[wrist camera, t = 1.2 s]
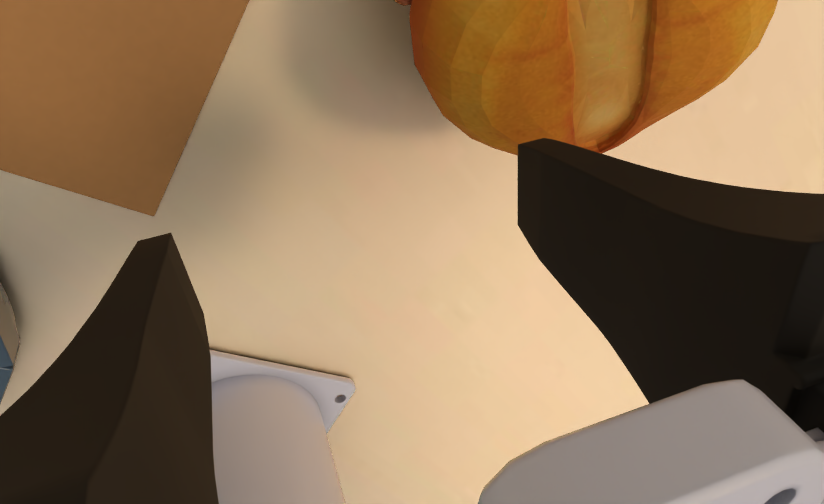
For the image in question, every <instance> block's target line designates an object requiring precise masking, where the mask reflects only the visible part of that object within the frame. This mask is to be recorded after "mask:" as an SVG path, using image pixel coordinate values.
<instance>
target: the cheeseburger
mask: <svg viewBox="0 0 824 504" xmlns="http://www.w3.org/2000/svg"><path fill="white" fill-rule="evenodd" d="M394 1H395V2H397V3H399V4H401V5H403V6H405V5H410V4H411V8H410V28H411V37H412V45H413V54H414V63H415V66H416V68H417V70H418V71H419V73H420V75H421V77H422V79H423V81H424V83H425V85H426V86H427V88H428V90H429V92H430V94H431V96H432V98H433V99H434V101H435V103H436V104H437V106H438V108H439V109H440V111H441V113H442V114H443V116H444V117H446V118H447V119H448V120H449V121H451V122H452V123H453V124H454V125H455V126H457V127H458V128H459V129H460V130H462V131H463V132H464V133H465V134H466V135H468V136H469V137H470V138H472V139H474V140H476V141H479V142H481V143H483V144H486V145H488V146H490V147H493V148H495V149H498V150H502V151H505V152H508V153H512V154H515V155H518V144H521V143H525V142H529V141H533V140H537V139H541V138H548V139H553V140H557V141H561V142H565V143H568V144H572V145H575V146H578V147H582V148H585V149H588V150H591V151H594V152H598V153H601V154H602V153H604V152H606V151H608V150H611V149H613V148H615V147H617V146H619V145H621V144H622V143H624V142H625V141H627V140H629V139H630V138H632V137H633V136H635V135H636V134H638V133H639V132H640V131H642V130H643V129H645V128H647V127H648V126H650V125H652V124H654V123H655V122H657V121H659V120H661V119H662V118H664V117H666V116H668V115H669V114H671V113H673V112H675V111H677V110H678V109H680V108H682V107H684V106H686V105H688V104H689V103H691V102H693V101H695V100H697V99H699V98H700V97H701V96H703V95H704V94H706V93H707V92H709V91H710V90H712V89H713V88H715V87H716V86H717V85H719V84H720V83H722V82H723V81H725V80H726V79H727V78H728V77H729V76H730V75H731V74H732V73H733V72H734V71H735V70H736V69H737V68H738V67H739V66H740V65H741V64H742V63H743V62H744V60H745V59H746V58H747V57H748V56H749V55H750V54H751V53H752V52H753V51H754V50H755V49H756V48H757V47H758V45H759V43H760V41H761V39H762V37H763V35H764V33H765V31H766V29H767V26H768V24H769V22H770V20H771V18H772V16H773V14H774V11H775V8H776V5H777V1H778V0H394Z"/></svg>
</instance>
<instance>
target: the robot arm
mask: <svg viewBox="0 0 824 504" xmlns="http://www.w3.org/2000/svg"><path fill="white" fill-rule="evenodd" d="M518 226H519V227H520V229H521V231H522V233H523V234H524V236H525V238H526V239H527V241H528V243H529V244H530V246H531V247H532V249H533V250H534V252H535V254H536V255H537V257H538V258H539V260H540V261H541V262H542V263H543V264H544V266H545V267H546V268H547V269H548V270H549V272H550V273H551V274H552V275H553V276H554V277H555V279H556V280H557V281H558V282H559V283H560V285H561V286H562V287H563V288H564V289H565V290H566V291H567V293H568V294H569V295H570V296H571V297H572V298H573V300H574V301H575V302H576V303H577V304H578V305H579V306H580V308H581V309H582V310H583V311H584V312H585V313H586V315H587V316H588V317H589V318H590V319H591V320H592V321H593V323H594V324H595V325H596V326H597V327H598V329H599V330H600V331H601V332H602V334H603V335H604V336H605V338H606V339H607V340H608V341H609V343H610V344H611V346H612V347H613V349H614V350H615V352H616V353H617V354H618V356H619V357H620V359H621V360H622V362H623V363H624V365H625V366H626V368H627V369H628V371H629V372H630V374H631V375H632V377H633V378H634V380H635V381H636V383H637V385H638V386H639V388H640V389H641V391H642V392H643V394H644V396H645V397H646V399H647V400H648V402H649V404H648V405H645V406H643V407H640V408H637V409H634V410H631V411H629V412H626V413H623V414H620V415H618V416H615V417H612V418H609V419H607V420H604V421H601V422H598V423H596V424H593V425H590V426H587V427H585V428H582V429H579V430H576V431H574V432H571V433H568V434H565V435H563V436H560V437H557V438H554V439H551V440H549V441H546V442H544V443H542V444H540V445H538V446H536V447H534V448H533V449H531V450H529V451H527V452H525V453H523V454H522V455H520V456H518V457H516V458H514V459H512V460H510V461H509V462H508V463H507V464H506V465H505V466H504V467H503V468H502V469H501V470H500V471H499V472H498V473H497V474H496V475H495V476H494V478H493V479H492V480H491V481H490V482H489V483H488V484H487V485H486V486H485V487H484V489H483V491H482V493H481V495H480V498H479V502H478V504H824V194H810V193H795V192H782V191H772V190H763V189H753V188H745V187H738V186H731V185H725V184H719V183H714V182H708V181H703V180H697V179H692V178H688V177H683V176H678V175H674V174H671V173H667V172H663V171H659V170H655V169H651V168H647V167H644V166H640V165H637V164H633V163H630V162H627V161H623V160H620V159H617V158H614V157H610V156H607V155H604V154H601V153H598V152H594V151H591V150H588V149H585V148H582V147H578V146H575V145H572V144H568V143H565V142H561V141H557V140H553V139H548V138H541V139H537V140H533V141H529V142H525V143H521V144H518ZM354 392H355V384H354V381H353V380H352V379H350V378H346V377H341V376H337V375H332V374H327V373H322V372H317V371H312V370H307V369H302V368H297V367H292V366H287V365H283V364H278V363H273V362H268V361H263V360H258V359H253V358H248V357H243V356H238V355H233V354H229V353H224V352H219V351H214V350H210V349H209V343H208V336H207V331H206V325H205V319H204V314H203V311H202V309H201V306H200V304H199V301H198V299H197V296H196V294H195V291H194V289H193V286H192V284H191V281H190V279H189V276H188V274H187V271H186V269H185V266H184V264H183V261H182V259H181V256H180V254H179V251H178V249H177V246H176V244H175V241H174V239H173V236H172V234H171V233H168V234H164V235H160V236H156V237H152V238H148V239H144V240H141V241H138V242H137V243H136V245H135V247H134V248H133V250H132V251H131V253H130V254H129V256H128V258H127V259H126V261H125V263H124V264H123V266H122V267H121V269H120V271H119V272H118V274H117V276H116V277H115V279H114V281H113V282H112V284H111V286H110V287H109V289H108V290H107V292H106V293H105V295H104V296H103V298H102V299H101V301H100V302H99V304H98V306H97V307H96V309H95V310H94V311H93V313H92V314H91V315H90V317H89V318H88V319H87V321H86V322H85V324H84V325H83V326H82V328H81V329H80V330H79V332H78V333H77V334H76V336H75V337H74V338H73V340H72V341H71V342H70V344H69V345H68V346H67V347H66V349H65V350H64V351H63V352H62V353H61V355H60V356H59V357H58V358H57V359H56V360H55V362H54V363H53V364H52V365H51V366H50V367H49V368H48V369H47V370H46V371H45V373H44V374H43V375H42V376H41V377H40V378H39V379H38V380H37V381H36V382H35V383H34V384H33V385H32V386H31V387H30V389H29V390H28V391H27V392H25V393H24V394H23V395H22V396H21V397H20V398H19V399H18V400H17V401H16V402H15V403H14V404H13V405H12V406H11V407H9V408H8V409H7V410H6V411H5V412H4V413H3V414H2V415H1V416H0V504H346V503H345V499H344V496H343V492H342V488H341V485H340V481H339V477H338V474H337V470H336V466H335V463H334V459H333V455H332V452H331V448H330V445H329V441H328V437H327V433H328V431H329V430H330V428H331V427H332V425H333V424H334V422H335V421H336V419H337V418H338V416H339V415H340V413H341V412H342V410H343V409H344V407H345V406H346V404H347V403H348V401H349V399H350V398H351V396H352V395H353V393H354ZM338 395H341V396H339V397H337V396H338Z"/></svg>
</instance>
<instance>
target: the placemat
mask: <svg viewBox="0 0 824 504" xmlns="http://www.w3.org/2000/svg"><path fill="white" fill-rule="evenodd" d="M248 2H249V0H0V170H3V171H6V172H9V173H13V174H16V175H19V176H23V177H26V178H29V179H32V180H36V181H39V182H42V183H46V184H49V185H52V186H56V187H59V188H62V189H65V190H69V191H72V192H75V193H79V194H82V195H85V196H88V197H92V198H95V199H98V200H102V201H105V202H108V203H112V204H115V205H118V206H121V207H125V208H128V209H131V210H135V211H138V212H141V213H144V214H148V215H151V216H154V215H155V213H156V211H157V208H158V206H159V204H160V202H161V199H162V197H163V195H164V192H165V190H166V188H167V186H168V183H169V181H170V179H171V177H172V174H173V172H174V170H175V167H176V165H177V163H178V161H179V158H180V156H181V154H182V152H183V149H184V147H185V145H186V142H187V140H188V138H189V136H190V133H191V131H192V129H193V127H194V124H195V122H196V120H197V117H198V115H199V113H200V111H201V108H202V106H203V104H204V102H205V99H206V97H207V95H208V93H209V90H210V88H211V86H212V83H213V81H214V79H215V77H216V74H217V72H218V70H219V68H220V65H221V63H222V61H223V58H224V56H225V54H226V52H227V49H228V47H229V45H230V43H231V40H232V38H233V36H234V33H235V31H236V29H237V27H238V24H239V22H240V20H241V18H242V15H243V13H244V11H245V8H246V6H247V4H248Z"/></svg>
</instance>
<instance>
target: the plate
mask: <svg viewBox="0 0 824 504" xmlns="http://www.w3.org/2000/svg"><path fill="white" fill-rule="evenodd" d="M19 341H20V337H19V335H18V332H17V329H16V321H15V315H14V312H13V309H12V306H11V303H10V300H9V298H8V296H7V294H6V292H5V290H4V288H3V286H2V285H1V283H0V404H1V401H2V398H3V396H4V393H5V391H6V388H7V385H8V383H9V380H10V378H11V375H12V372H13V370H14V366H15V362H16V358H17V355H18V351H19V347H20V342H19Z"/></svg>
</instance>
